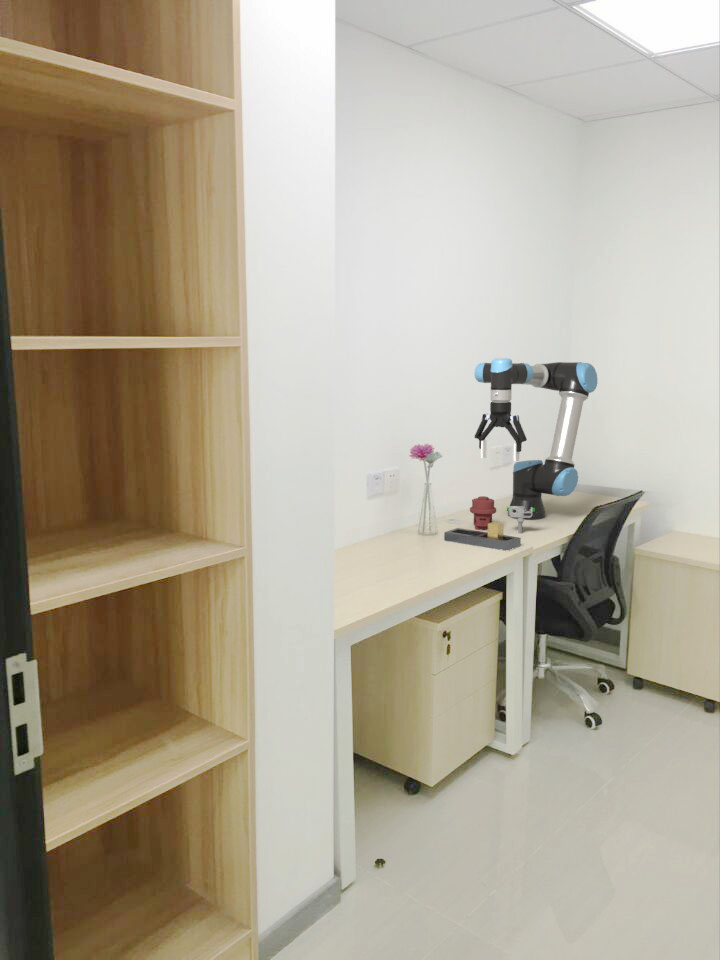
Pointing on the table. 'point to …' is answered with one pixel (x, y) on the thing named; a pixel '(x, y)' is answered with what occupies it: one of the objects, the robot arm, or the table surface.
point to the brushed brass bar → (495, 530)
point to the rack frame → (481, 539)
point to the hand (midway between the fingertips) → (499, 459)
